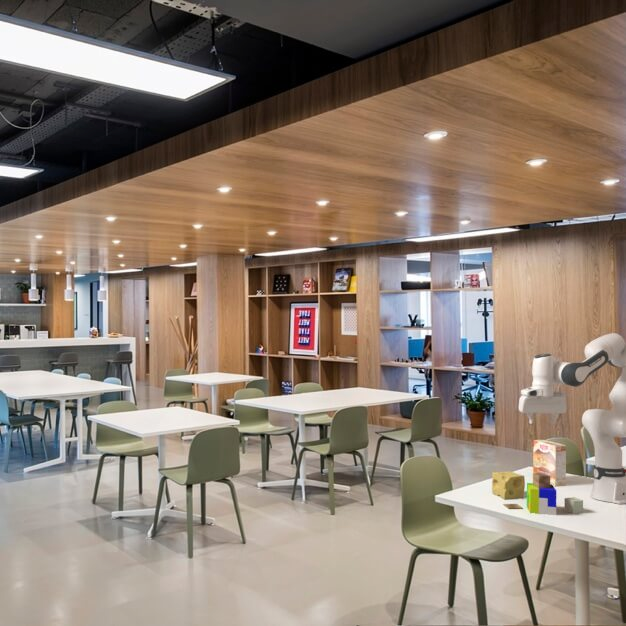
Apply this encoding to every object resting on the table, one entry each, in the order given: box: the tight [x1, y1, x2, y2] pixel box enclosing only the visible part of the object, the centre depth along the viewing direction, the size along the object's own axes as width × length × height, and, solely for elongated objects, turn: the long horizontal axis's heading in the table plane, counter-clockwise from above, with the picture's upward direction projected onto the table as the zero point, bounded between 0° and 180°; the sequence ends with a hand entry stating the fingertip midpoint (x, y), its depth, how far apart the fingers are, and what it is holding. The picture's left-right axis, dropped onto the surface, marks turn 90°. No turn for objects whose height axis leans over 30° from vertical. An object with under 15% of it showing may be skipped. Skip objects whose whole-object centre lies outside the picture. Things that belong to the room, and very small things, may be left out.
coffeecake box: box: [532, 439, 567, 487], centre depth 307 cm, size 15×7×20 cm, turn 23°
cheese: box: [491, 470, 526, 500], centre depth 281 cm, size 10×11×10 cm
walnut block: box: [532, 472, 550, 488], centre depth 259 cm, size 5×5×5 cm
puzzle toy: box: [526, 482, 557, 516], centre depth 259 cm, size 10×10×10 cm
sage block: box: [563, 496, 584, 514], centre depth 259 cm, size 5×5×5 cm
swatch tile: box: [502, 503, 524, 510], centre depth 263 cm, size 6×6×1 cm
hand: (542, 423), depth 270 cm, fingers open, 8 cm apart
